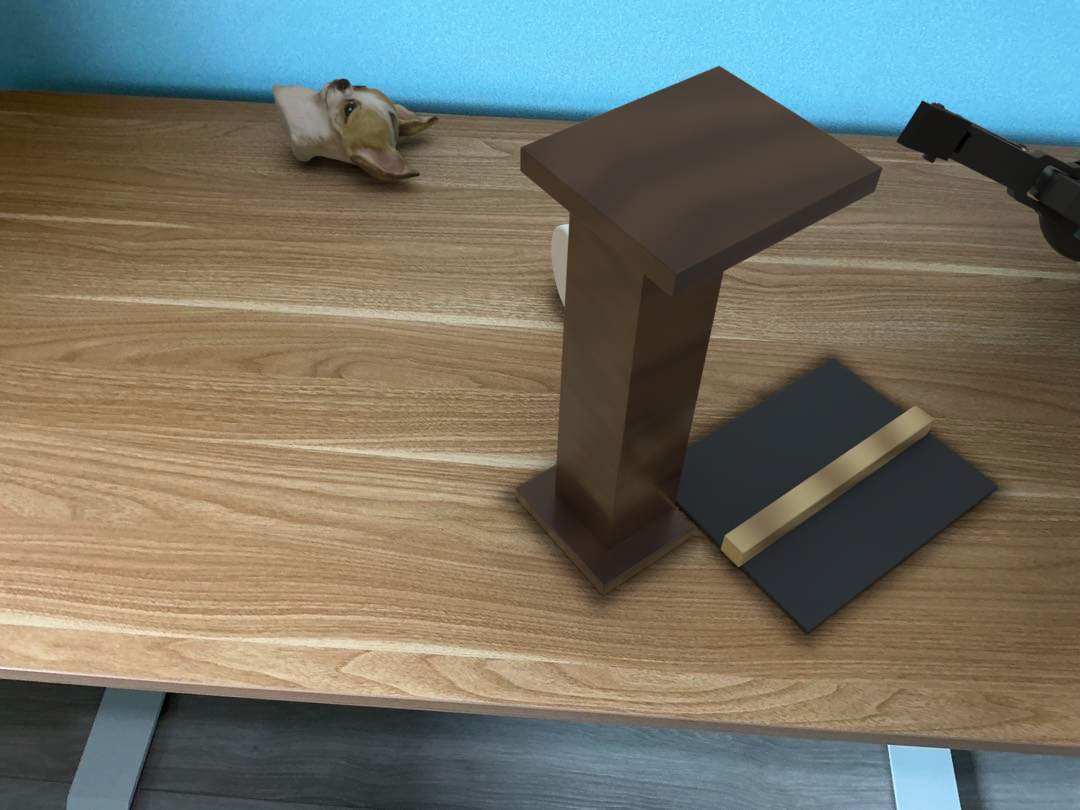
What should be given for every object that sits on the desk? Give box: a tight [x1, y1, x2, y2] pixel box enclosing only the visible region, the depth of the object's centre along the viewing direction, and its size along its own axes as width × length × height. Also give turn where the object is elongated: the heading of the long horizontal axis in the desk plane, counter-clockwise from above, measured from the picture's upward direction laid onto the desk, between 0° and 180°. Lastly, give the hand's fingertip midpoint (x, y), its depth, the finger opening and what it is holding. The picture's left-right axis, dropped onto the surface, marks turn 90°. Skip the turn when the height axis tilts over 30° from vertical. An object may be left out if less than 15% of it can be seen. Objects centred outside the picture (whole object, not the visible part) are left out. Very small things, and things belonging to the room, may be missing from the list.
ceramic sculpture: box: [271, 78, 440, 181], centre depth 95 cm, size 11×9×15 cm
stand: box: [514, 65, 883, 597], centre depth 61 cm, size 12×15×28 cm
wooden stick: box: [720, 405, 935, 568], centre depth 71 cm, size 20×2×2 cm, turn 127°
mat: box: [675, 357, 999, 635], centre depth 73 cm, size 16×20×1 cm
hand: (1009, 179), depth 56 cm, fingers open, 13 cm apart
